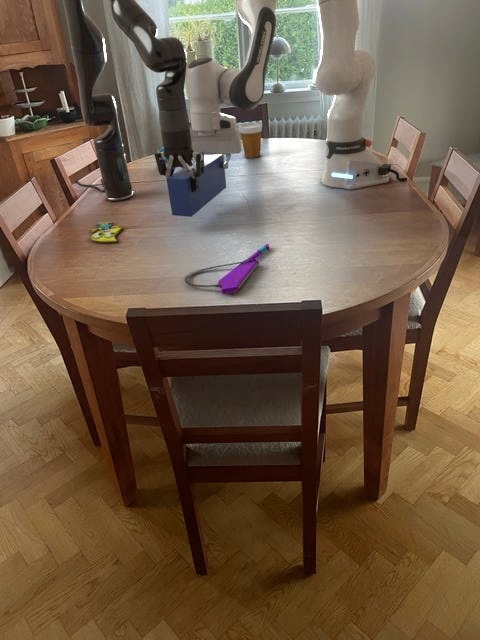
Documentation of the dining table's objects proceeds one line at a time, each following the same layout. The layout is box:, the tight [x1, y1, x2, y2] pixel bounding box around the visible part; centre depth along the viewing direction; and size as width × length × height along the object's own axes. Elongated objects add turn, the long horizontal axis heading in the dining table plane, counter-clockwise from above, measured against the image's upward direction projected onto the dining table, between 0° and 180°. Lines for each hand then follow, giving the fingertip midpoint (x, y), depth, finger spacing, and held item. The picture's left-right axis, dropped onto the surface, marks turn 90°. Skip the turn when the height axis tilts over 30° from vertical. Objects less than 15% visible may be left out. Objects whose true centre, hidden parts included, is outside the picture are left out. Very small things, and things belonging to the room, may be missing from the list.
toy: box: [90, 221, 124, 244], centre depth 141 cm, size 10×1×15 cm
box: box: [165, 154, 227, 218], centre depth 141 cm, size 26×6×10 cm, turn 159°
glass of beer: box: [239, 123, 263, 159], centre depth 199 cm, size 10×10×12 cm
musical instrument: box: [184, 243, 270, 295], centre depth 114 cm, size 24×2×20 cm
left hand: (183, 190), depth 133 cm, fingers closed on box, 6 cm apart
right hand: (210, 169), depth 148 cm, fingers open, 8 cm apart
